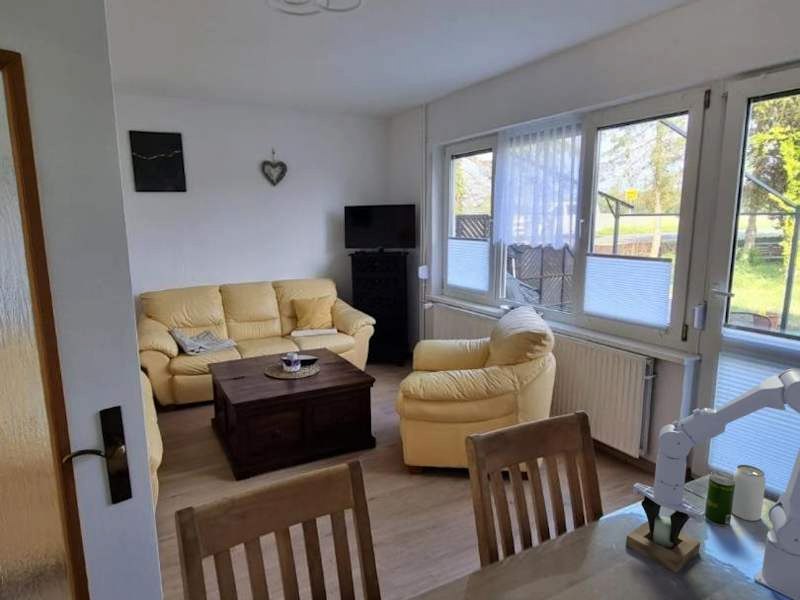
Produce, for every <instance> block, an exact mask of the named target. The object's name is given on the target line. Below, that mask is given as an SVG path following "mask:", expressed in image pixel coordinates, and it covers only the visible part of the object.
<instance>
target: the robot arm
mask: <svg viewBox="0 0 800 600" xmlns="http://www.w3.org/2000/svg"><path fill="white" fill-rule="evenodd" d="M785 405H787V406H789V408H791V409H792V410H793V411H795V412H796V413H798V414H800V368H790V369H789V368H788V369H786V370H783V371H782V372H780V374H779V375H777V374H775V375H773V376H770V377H767V379H765V380H763V381H762V382H760V383H759V384H757V385H755V386H754V387H752V388H750V389H749V390H747V391H746V392H744V393H741V394H740V395H737V397H734V398H733V399H731V400H730V401H728V402H726V403H725V404H722V405H721V406H720V407H717V408H709V407H704V408H702V409H700V408H695V409H693V410H692V414H691V415H689V416H687V417H685V418H682V419H681V420H679V421H678V420H674V421H672V424H671V423H669V424H666V425H664V426H663V427H661V428H660V430H659V432H658V446H659V448H658V449H657V457H656V463H655V473H654V484H653V487H651V486H649V485H645V484H642V483H639V482H637V483H635V484H634V485H633V487H632V493H633V494H634V495H641V496H643V497H644V498H643V500H642V501H641V507H642V508H643V511H644V512H645V515H646V518H647V521H648V523H649V529H650V532H651V533H653V532H654V523H655V517H657V516H660V512H661V511H660V510H661V507H663V508H666V509H670V510H674V512H673V513H672V514H670V515H669V518H670V519H671V534H670V542H671V543H674V542H676V541H677V539H678V536H679V534H680V533H681V532H682V529H683V527H684V526H685V524H687V521H689V519H690V518H692V519H693V520H694V521H695V522H696V523H699V524H701V523H702V522H703V521H704V520H705V510H702V509H701V508H698V507H696V506H695V505H694V504H691V503H690V502H688V501H687V500H686V499H684V491H685V480H686V471H687V465H688V464H687V456H689V454H690V451H691V448H692V447H693V448H694V447H697V446H699V445H701V444H703V443H705V442H708V441H709V440H711V439H713V438H715V437H717V436H720V435H722V434H723V433H725V430H726V426H727V425H728V424H729V423H732V422H734V421H737V420H738V419H741V418H744V417H746V416H748V415H750V414H752V413H755V412H757V411H759V410H763V409H765V408H768V409H769V408H770V409H775V410H781V411H786V410H787V409H786V406H785ZM768 518H769V521H770V522H771V525H772V527H771V529H770V530H769V531H768V532H767V533H766V540H765V547H764V555H763V561H762V567H761V569H760V570H759V571H758V572H757V573H756V574H755V576H754V577H753V580H754V581H755V582H757V583H759V584H762V585H763V586H766V587H767V588H769V589H772V590H774V591H776V592H777V593H780V594H782V595H783V596H786V597H787V598H789V599H792V600H800V448H798V453H797V455H796V458H795V461H794V464H793V467H792V470H791V473H790V476H789V479H788V483H787V485H786V488H785V491H784V492H782V493H781V494H779V497H778V500H777V501H776V502H775V503H774V504H773V505H771V506H770V507H769V509H768Z"/></svg>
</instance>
